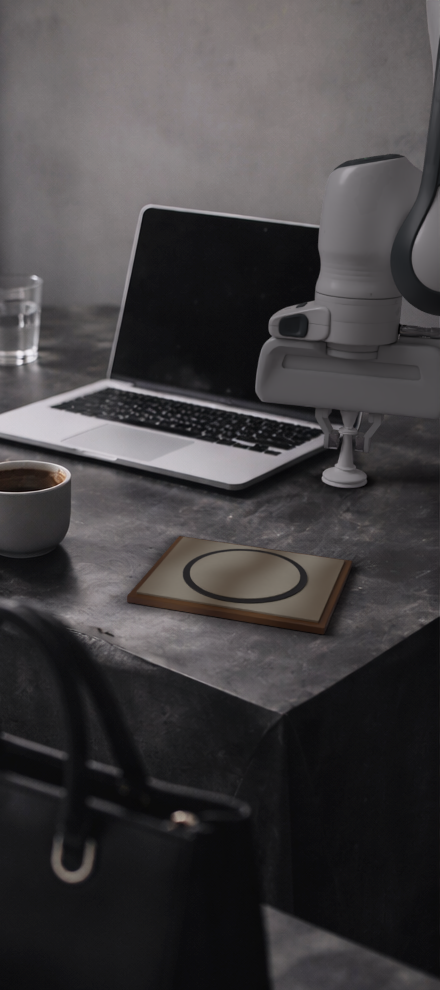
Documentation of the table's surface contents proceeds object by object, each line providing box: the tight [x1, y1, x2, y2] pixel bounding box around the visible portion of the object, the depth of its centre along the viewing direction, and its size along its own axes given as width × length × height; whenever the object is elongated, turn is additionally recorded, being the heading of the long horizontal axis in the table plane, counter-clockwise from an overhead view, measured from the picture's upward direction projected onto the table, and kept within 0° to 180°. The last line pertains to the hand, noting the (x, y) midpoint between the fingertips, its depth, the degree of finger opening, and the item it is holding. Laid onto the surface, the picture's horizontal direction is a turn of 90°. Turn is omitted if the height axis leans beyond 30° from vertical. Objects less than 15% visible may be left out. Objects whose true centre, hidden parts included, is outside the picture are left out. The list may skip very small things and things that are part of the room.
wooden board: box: [126, 535, 353, 635], centre depth 82 cm, size 16×13×1 cm
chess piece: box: [321, 410, 368, 489], centre depth 105 cm, size 5×5×10 cm
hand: (346, 449), depth 105 cm, fingers closed on chess piece
